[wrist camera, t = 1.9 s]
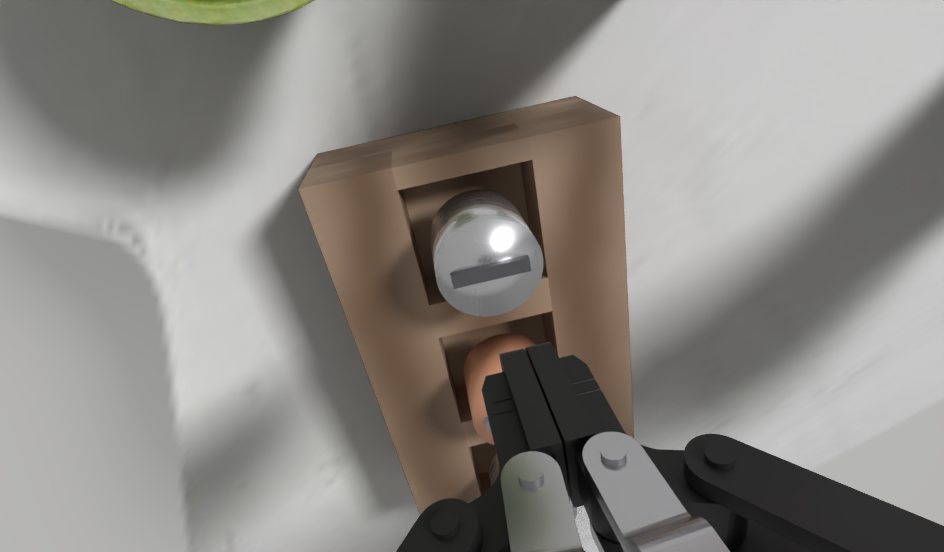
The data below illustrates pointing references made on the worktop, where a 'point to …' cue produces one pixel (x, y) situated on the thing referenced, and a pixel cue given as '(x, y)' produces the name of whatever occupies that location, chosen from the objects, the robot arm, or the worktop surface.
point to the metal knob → (484, 254)
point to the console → (414, 281)
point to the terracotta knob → (483, 364)
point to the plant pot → (214, 10)
